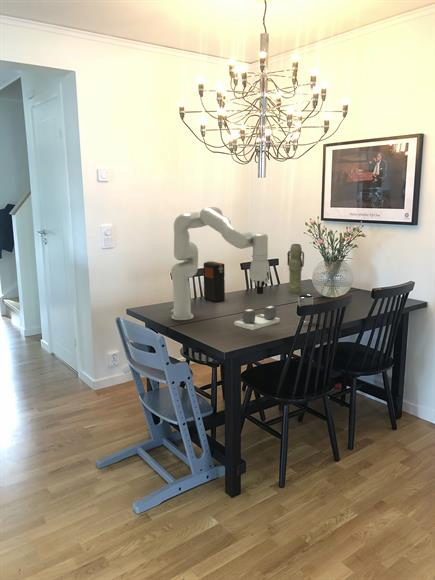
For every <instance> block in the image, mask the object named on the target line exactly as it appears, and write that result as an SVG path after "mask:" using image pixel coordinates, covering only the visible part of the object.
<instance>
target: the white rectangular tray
mask: <svg viewBox="0 0 435 580" xmlns="http://www.w3.org/2000/svg"><path fill="white" fill-rule="evenodd" d="M280 319H281V318H280V317H276V318H274V319H270V320H269V319H265V318H264V314H262V313H261V314H257V315H256V314H255V321H254V322H251V323H246V322H243V318H242V319H239V320H235V321H234V323H233V324H234V325H233V326H236V327H239V328H243V329H247V330H250V331H254V330H258V329H260V328H261V329H262V328H264V327H267V326H271V325H274V324H277V323H280Z"/></svg>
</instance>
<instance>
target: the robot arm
mask: <svg viewBox="0 0 435 580" xmlns="http://www.w3.org/2000/svg"><path fill="white" fill-rule="evenodd" d="M207 226H208V227H210V228H212V229H213V230H215V231H217V232H218V233H219V234H220V235H221V237H222V238H223V239H224V240H225V242H227V243H229V244H230V245H232V246H234V247H235V248H237V249H241V250H242V249H249V248H252V255H251V257H252V260H250V261H251V262H250V267H249V278H250V280H251V281H252V283H253V282H254V284H255V287H256V294H257V295H263V294H264V286H265V285H266V284H269V283H270V281H269V280H270V277H271V274H270V273H271V272H270V262H269V261H268V260H269V255H268V253H269V251H268V250H269V248H268V246H269V245H268V244H269V242H268V239H269V236H268V234H266V233H263V232H262V233H259V232H258V233H255V232H254V233H253V232H243V233H241V232H239V231H238V230H236V229H235V228H234V227H232V226H231V220H230V219H229V218H228V217H226V216H225V215H223V211H222V210H221V208H219V207H217V206H206V207H204V208H202V209H201V210H200V211H198V212H194V211H193V212H185V213H182V214H179V215H178V216H177V217H176V218H175V220H174V222H173V256H174V258H175V259H176V261H181V262H177V263H175V264H174V265H173V266H172V268H171V270H170V275H171V279H172V289H173V291H172V293H173V295H172V296H173V308H172V309H171V310H170V312H172V313H173V314H171V316H170V317H171V319H172V320H174V321H188V320H192V319H194V314H193V313H192V312H191V311H192V310H191V284H190V282H189V279H190V278H192V277H194V276H196V275H197V273H198V270H199V248H198V246H197V245H196V244H195V243H194V242H192V241H190V237H191V236H190V232H189V230H190V229H198V228H202V227H207Z"/></svg>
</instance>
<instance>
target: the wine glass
mask: <svg viewBox="0 0 435 580" xmlns="http://www.w3.org/2000/svg"><path fill="white" fill-rule="evenodd" d="M297 302H298V306H299V305H309V304H312V305H313V303H314V295H312V294H301V295H298V296H297ZM306 319H307V316H306V317H305V321H304V320H303V321H304V323H306V322H307V320H306ZM299 322H300V321H298V322H297V323H298V324H299ZM308 322H309V321H308ZM308 322H307V323H308Z"/></svg>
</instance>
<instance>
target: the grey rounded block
mask: <svg viewBox="0 0 435 580" xmlns="http://www.w3.org/2000/svg"><path fill="white" fill-rule="evenodd" d="M255 316H256V310H255V309H250V308H248V309H244V310H243V311H242V319H243V322H246V323H251V322H254V321H255Z"/></svg>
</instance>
